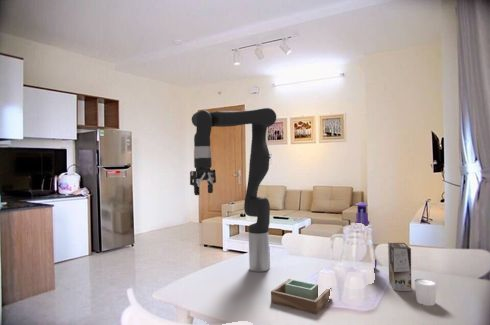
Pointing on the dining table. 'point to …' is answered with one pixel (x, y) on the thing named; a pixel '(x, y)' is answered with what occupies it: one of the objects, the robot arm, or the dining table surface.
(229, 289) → the dining table surface
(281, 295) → the walnut crate
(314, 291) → the sage crate
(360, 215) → the lantern
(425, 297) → the white cup
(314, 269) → the dining table surface
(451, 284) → the dining table surface
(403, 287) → the coffee box
